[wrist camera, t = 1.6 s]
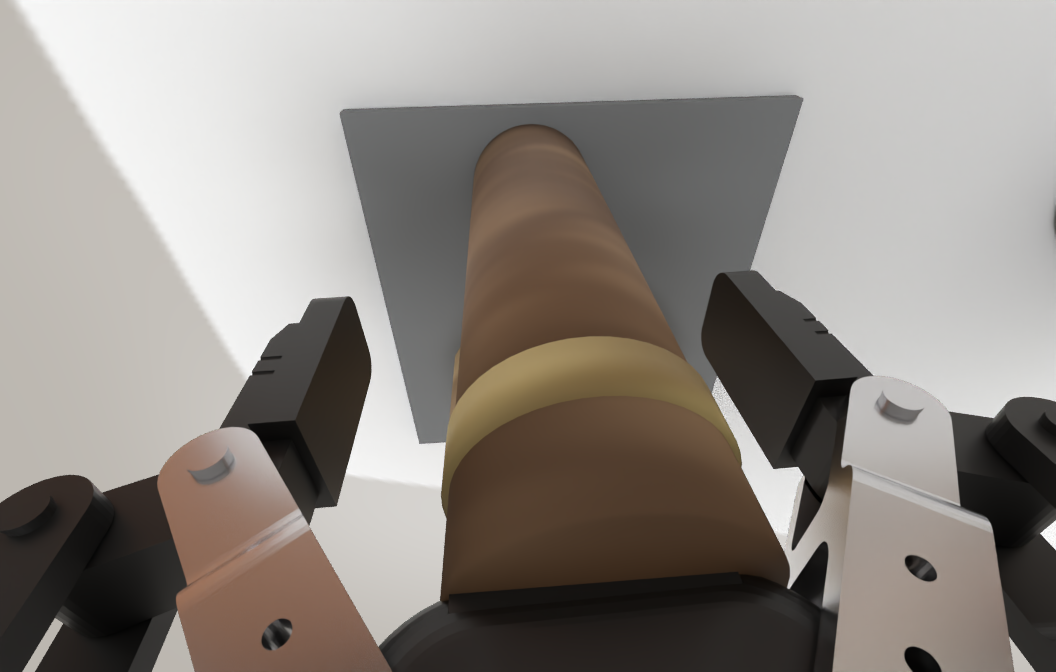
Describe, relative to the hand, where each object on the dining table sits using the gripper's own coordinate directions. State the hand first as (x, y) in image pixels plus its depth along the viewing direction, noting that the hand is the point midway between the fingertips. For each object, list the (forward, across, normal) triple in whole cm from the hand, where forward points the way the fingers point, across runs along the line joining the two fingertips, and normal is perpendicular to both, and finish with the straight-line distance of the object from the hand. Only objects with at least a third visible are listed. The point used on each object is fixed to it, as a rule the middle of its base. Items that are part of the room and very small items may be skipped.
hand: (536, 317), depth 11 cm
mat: (+8, -2, +5) cm, 10 cm away
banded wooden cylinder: (+8, -1, 0) cm, 8 cm away
